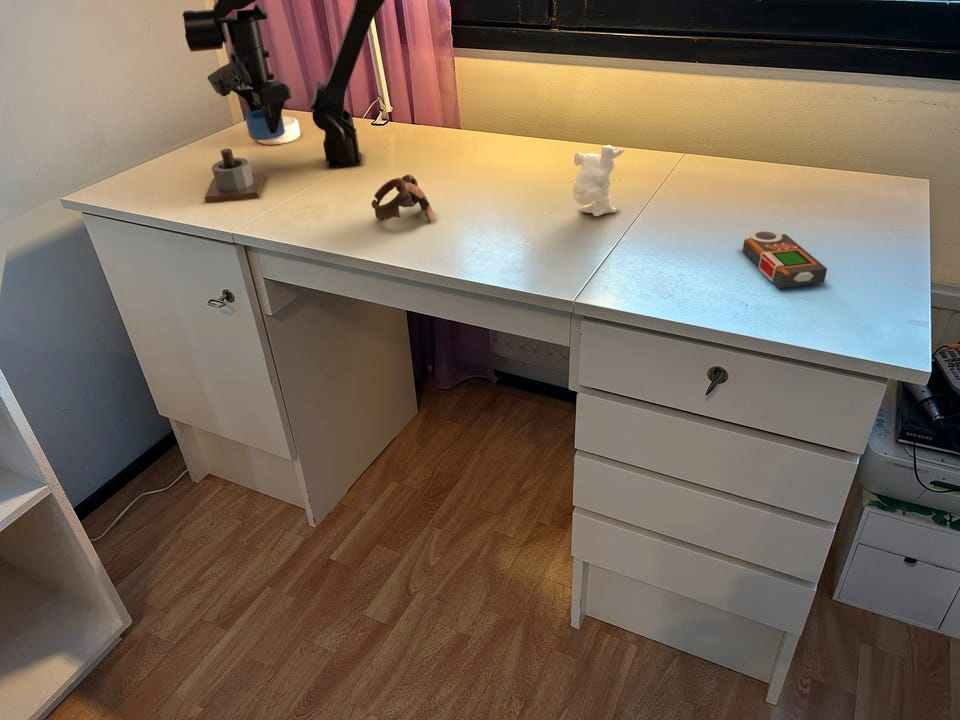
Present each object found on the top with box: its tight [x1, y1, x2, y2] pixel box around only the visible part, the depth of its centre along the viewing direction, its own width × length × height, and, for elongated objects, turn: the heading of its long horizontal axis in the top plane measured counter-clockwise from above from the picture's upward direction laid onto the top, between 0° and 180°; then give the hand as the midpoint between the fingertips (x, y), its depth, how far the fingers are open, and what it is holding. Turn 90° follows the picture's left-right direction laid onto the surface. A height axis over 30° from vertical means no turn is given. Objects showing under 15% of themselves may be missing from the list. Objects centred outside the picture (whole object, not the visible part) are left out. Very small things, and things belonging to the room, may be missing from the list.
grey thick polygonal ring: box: [211, 157, 253, 191], centre depth 142 cm, size 7×7×4 cm
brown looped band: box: [371, 174, 434, 223], centre depth 128 cm, size 12×10×8 cm
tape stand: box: [203, 148, 266, 204], centre depth 141 cm, size 10×10×8 cm
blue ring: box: [245, 109, 285, 141], centre depth 146 cm, size 7×7×4 cm
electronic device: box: [742, 229, 828, 289], centre depth 109 cm, size 7×3×15 cm
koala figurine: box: [572, 144, 625, 217], centre depth 124 cm, size 8×7×12 cm
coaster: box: [256, 115, 301, 146], centre depth 166 cm, size 10×10×4 cm
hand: (266, 128), depth 146 cm, fingers closed on blue ring, 7 cm apart
